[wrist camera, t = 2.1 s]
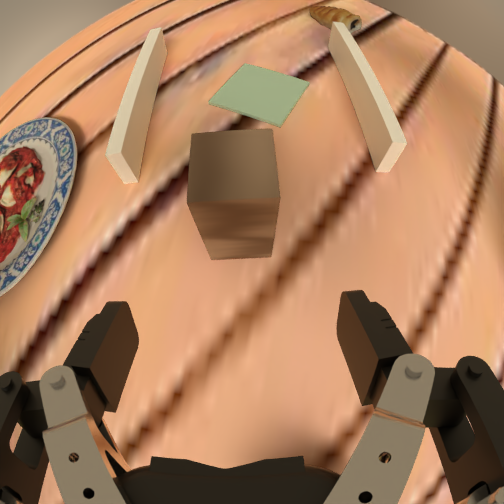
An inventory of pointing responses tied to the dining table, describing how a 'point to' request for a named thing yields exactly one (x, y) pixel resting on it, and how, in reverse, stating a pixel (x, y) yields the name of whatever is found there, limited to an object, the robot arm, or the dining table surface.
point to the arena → (350, 68)
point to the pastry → (336, 17)
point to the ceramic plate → (32, 192)
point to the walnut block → (234, 192)
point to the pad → (260, 94)
